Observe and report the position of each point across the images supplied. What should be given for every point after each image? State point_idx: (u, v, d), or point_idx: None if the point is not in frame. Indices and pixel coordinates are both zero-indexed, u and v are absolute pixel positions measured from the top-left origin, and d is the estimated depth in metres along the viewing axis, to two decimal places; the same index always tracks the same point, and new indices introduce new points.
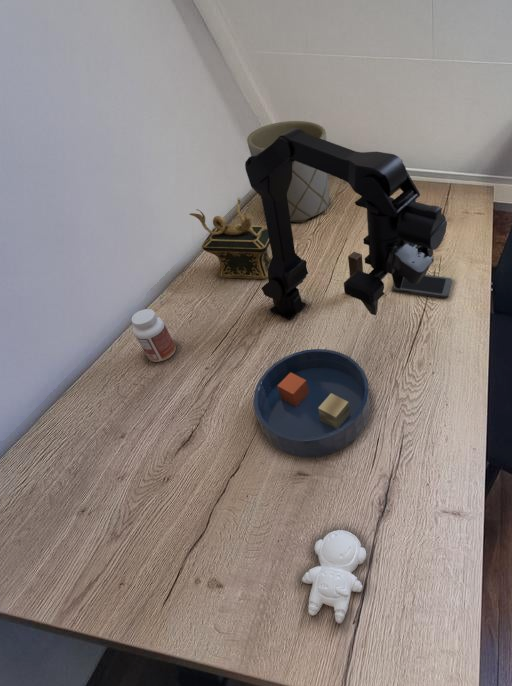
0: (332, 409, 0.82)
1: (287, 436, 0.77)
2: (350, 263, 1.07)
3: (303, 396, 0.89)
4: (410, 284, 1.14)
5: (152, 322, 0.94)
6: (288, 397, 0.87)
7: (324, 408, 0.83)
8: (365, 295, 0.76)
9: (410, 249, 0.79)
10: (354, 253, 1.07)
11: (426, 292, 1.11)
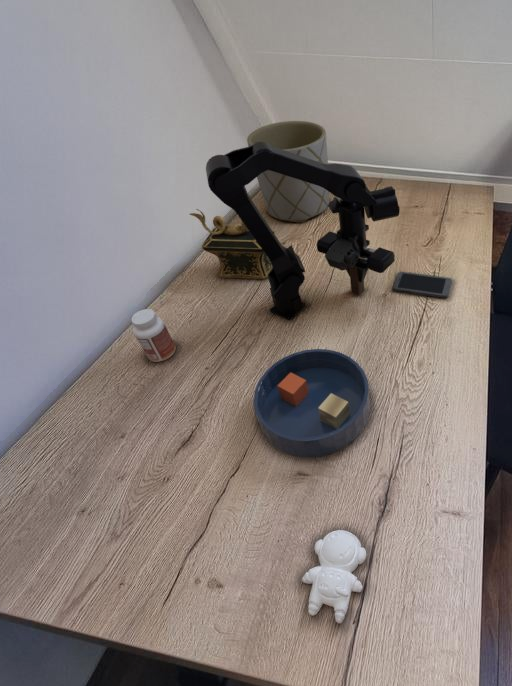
0: (332, 409, 0.82)
1: (287, 436, 0.77)
2: None
3: (303, 396, 0.89)
4: (410, 284, 1.14)
5: (152, 322, 0.94)
6: (288, 397, 0.87)
7: (324, 408, 0.83)
8: None
9: (346, 246, 1.00)
10: None
11: (426, 292, 1.11)
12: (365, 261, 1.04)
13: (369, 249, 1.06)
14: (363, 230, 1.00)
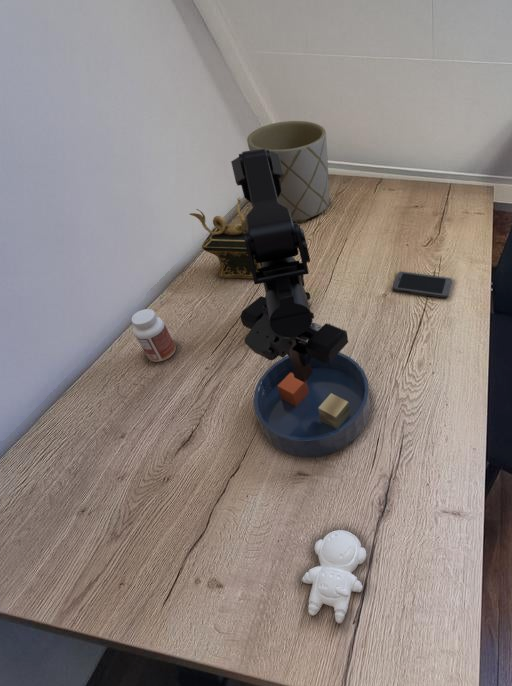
0: (332, 409, 0.82)
1: (287, 436, 0.77)
2: None
3: (303, 396, 0.89)
4: (410, 284, 1.14)
5: (152, 322, 0.94)
6: (288, 397, 0.87)
7: (324, 408, 0.83)
8: None
9: None
10: None
11: (426, 292, 1.11)
12: (306, 343, 0.73)
13: (313, 325, 0.75)
14: None
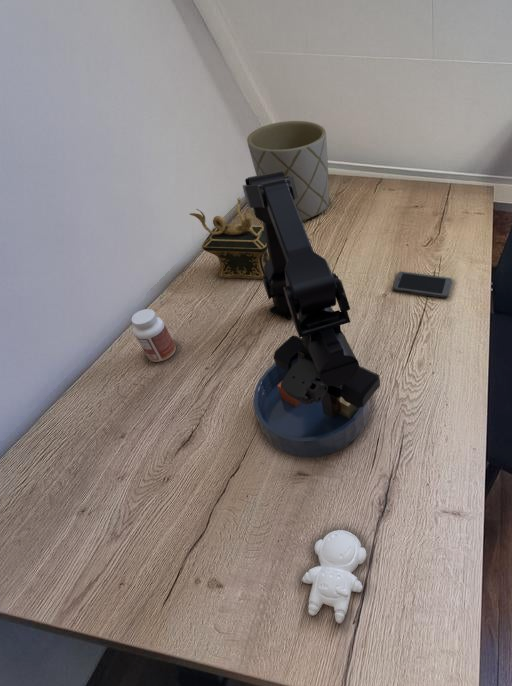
0: None
1: (287, 436, 0.77)
2: None
3: None
4: (410, 284, 1.14)
5: (152, 322, 0.94)
6: (288, 397, 0.87)
7: None
8: None
9: (311, 372, 0.71)
10: None
11: (426, 292, 1.11)
12: (339, 386, 0.75)
13: None
14: None
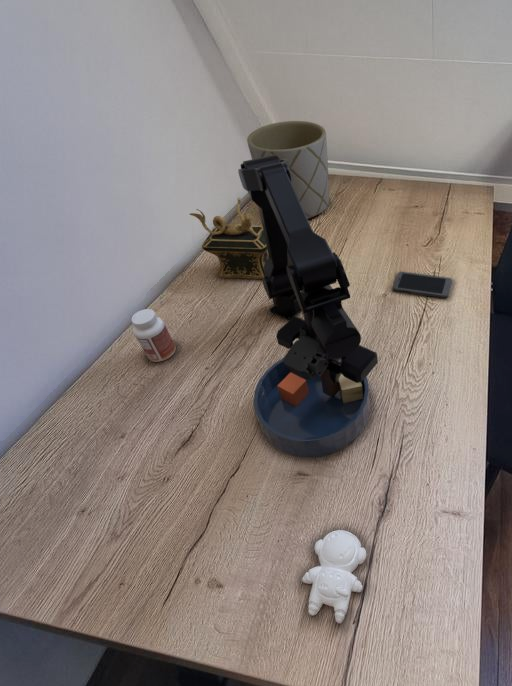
0: (346, 383, 0.87)
1: (287, 436, 0.77)
2: None
3: (303, 396, 0.89)
4: (410, 284, 1.14)
5: (152, 322, 0.94)
6: (288, 397, 0.87)
7: (341, 378, 0.88)
8: None
9: (312, 348, 0.74)
10: None
11: (426, 292, 1.11)
12: (338, 363, 0.78)
13: None
14: None
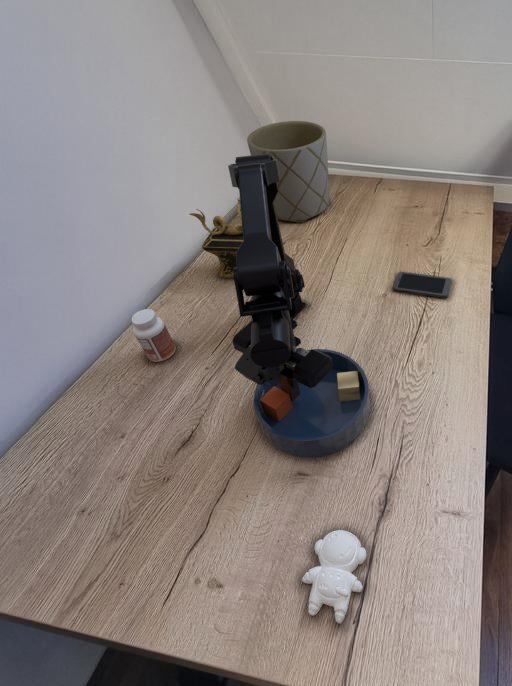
0: (343, 382, 0.87)
1: (287, 436, 0.77)
2: None
3: (286, 411, 0.87)
4: (410, 284, 1.14)
5: (152, 322, 0.94)
6: (271, 412, 0.85)
7: (340, 376, 0.88)
8: None
9: None
10: None
11: (426, 292, 1.11)
12: (293, 367, 0.78)
13: (300, 350, 0.79)
14: None
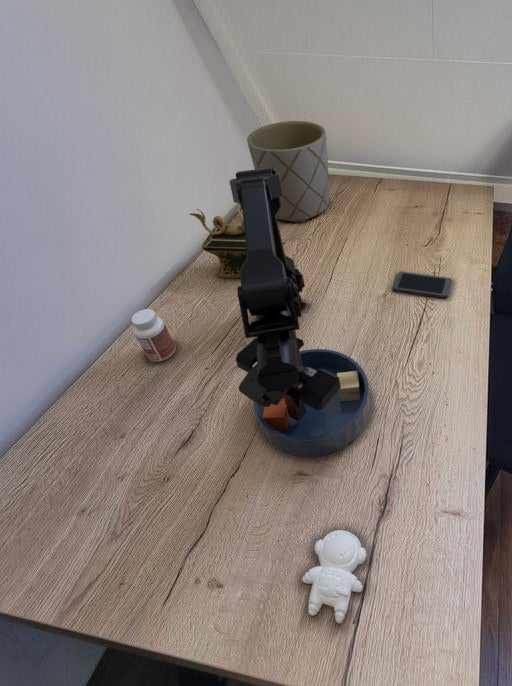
0: (343, 382, 0.87)
1: (287, 436, 0.77)
2: None
3: (278, 427, 0.84)
4: (410, 284, 1.14)
5: (152, 322, 0.94)
6: None
7: (340, 376, 0.88)
8: None
9: None
10: None
11: (426, 292, 1.11)
12: (299, 388, 0.74)
13: (306, 369, 0.76)
14: None
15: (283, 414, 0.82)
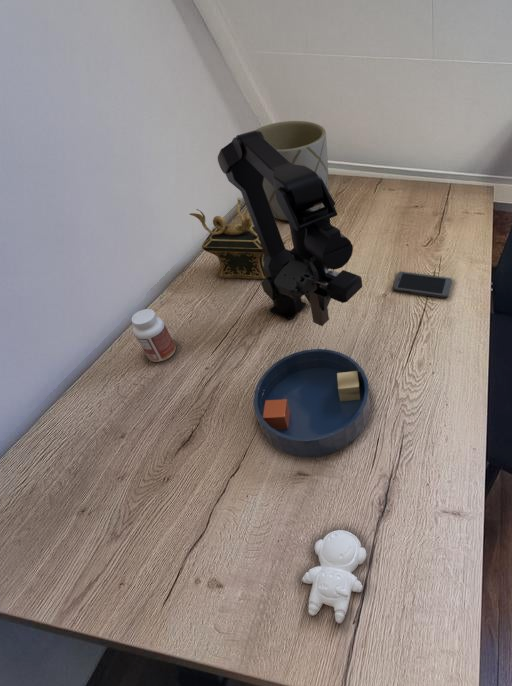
0: (343, 382, 0.87)
1: (287, 436, 0.77)
2: None
3: (278, 427, 0.84)
4: (410, 284, 1.14)
5: (152, 322, 0.94)
6: None
7: (340, 376, 0.88)
8: None
9: (300, 270, 0.80)
10: None
11: (426, 292, 1.11)
12: (326, 287, 0.84)
13: (331, 272, 0.86)
14: None
15: (283, 414, 0.82)
